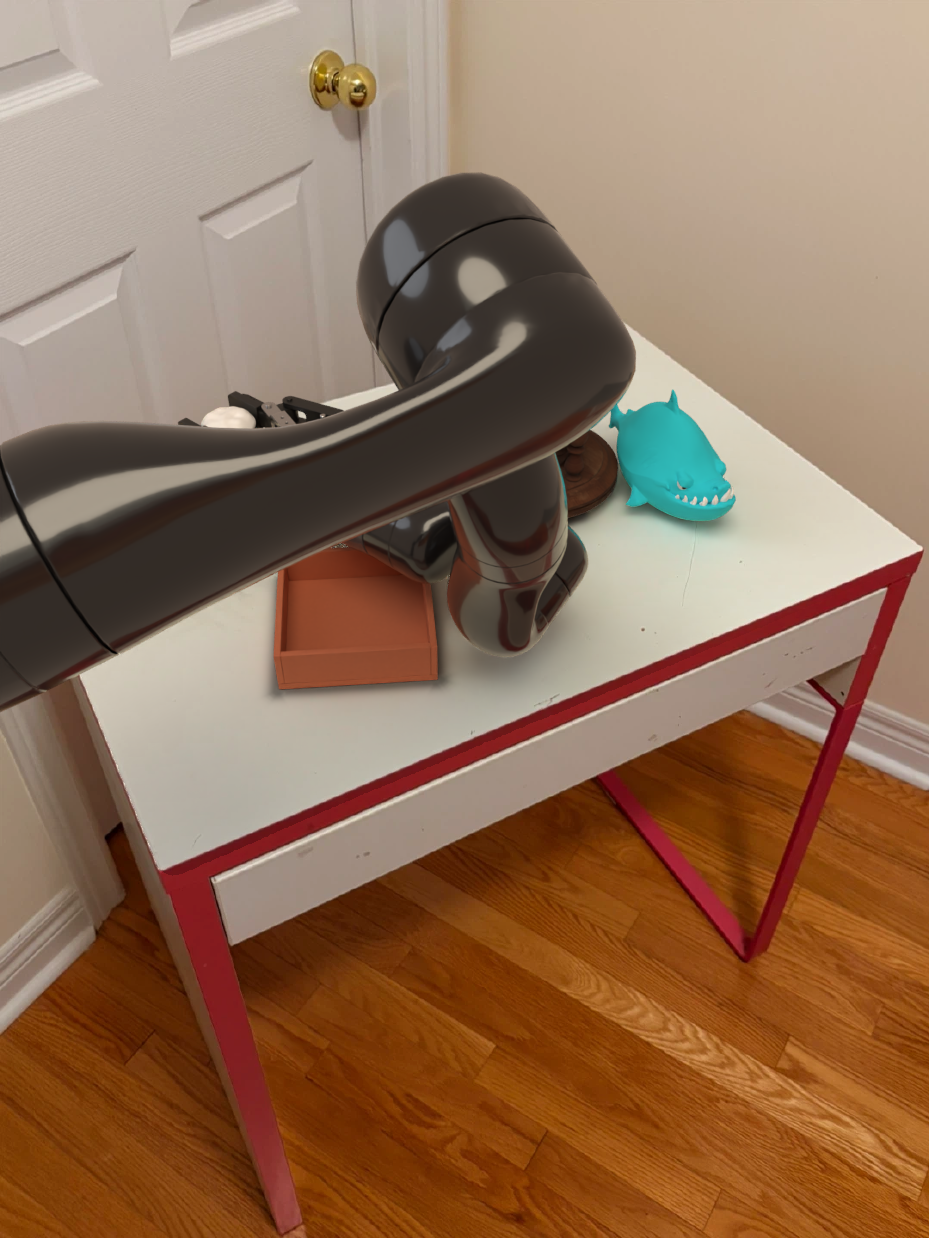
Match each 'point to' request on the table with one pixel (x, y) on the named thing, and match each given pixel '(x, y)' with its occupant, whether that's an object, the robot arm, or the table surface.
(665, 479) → the toy shark
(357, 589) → the terracotta bin
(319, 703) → the table surface
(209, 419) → the milkshake
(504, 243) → the robot arm
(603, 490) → the wooden thread spool stand
